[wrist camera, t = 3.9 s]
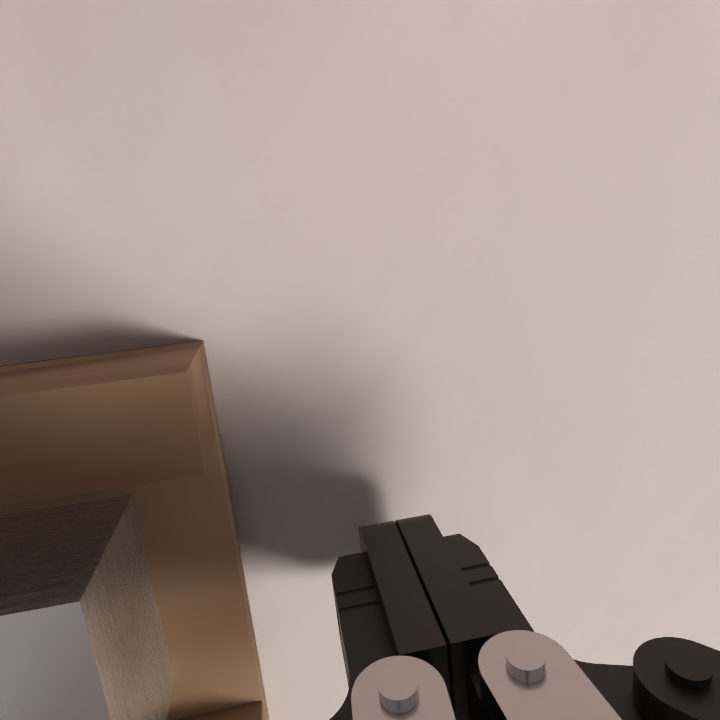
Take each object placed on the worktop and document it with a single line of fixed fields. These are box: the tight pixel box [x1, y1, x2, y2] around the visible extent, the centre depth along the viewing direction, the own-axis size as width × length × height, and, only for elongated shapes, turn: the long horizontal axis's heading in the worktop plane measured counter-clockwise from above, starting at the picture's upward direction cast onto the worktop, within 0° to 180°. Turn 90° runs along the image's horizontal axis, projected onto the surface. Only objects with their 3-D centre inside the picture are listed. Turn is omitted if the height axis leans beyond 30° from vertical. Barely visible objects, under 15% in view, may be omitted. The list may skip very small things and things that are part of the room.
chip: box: [0, 495, 174, 720], centre depth 10 cm, size 4×4×3 cm
